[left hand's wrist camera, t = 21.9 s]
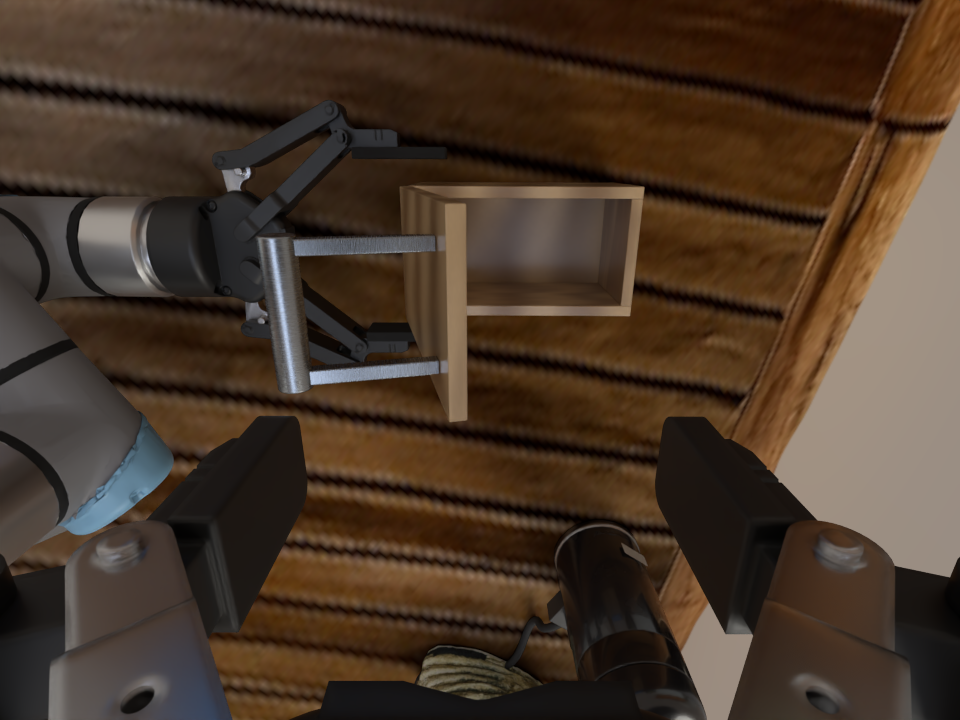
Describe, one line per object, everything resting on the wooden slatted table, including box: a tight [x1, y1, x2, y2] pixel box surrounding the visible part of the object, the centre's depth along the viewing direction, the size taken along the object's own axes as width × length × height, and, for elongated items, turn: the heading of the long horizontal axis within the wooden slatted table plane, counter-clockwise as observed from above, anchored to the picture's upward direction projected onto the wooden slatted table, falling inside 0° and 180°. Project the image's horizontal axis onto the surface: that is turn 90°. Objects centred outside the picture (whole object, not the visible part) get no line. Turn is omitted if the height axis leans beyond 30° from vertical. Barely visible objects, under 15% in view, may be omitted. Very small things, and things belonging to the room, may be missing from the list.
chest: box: [408, 182, 644, 316], centre depth 41 cm, size 16×9×9 cm, turn 90°
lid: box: [256, 186, 467, 422], centre depth 28 cm, size 17×9×8 cm
